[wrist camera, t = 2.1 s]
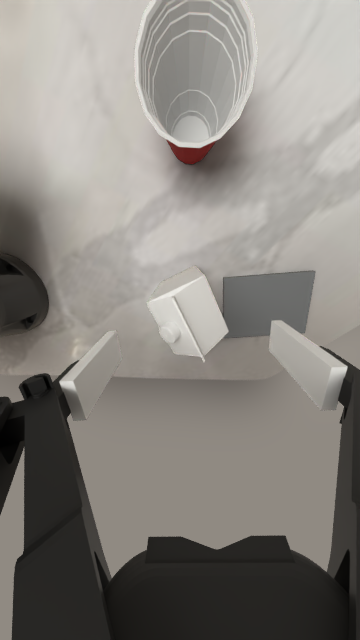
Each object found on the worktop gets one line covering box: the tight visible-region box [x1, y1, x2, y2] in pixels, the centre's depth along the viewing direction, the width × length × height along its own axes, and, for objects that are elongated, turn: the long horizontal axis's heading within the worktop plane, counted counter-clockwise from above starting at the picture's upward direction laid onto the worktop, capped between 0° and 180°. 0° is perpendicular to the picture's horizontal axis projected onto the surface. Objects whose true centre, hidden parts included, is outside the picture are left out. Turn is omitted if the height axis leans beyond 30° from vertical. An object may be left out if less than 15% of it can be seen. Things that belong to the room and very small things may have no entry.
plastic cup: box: [134, 0, 258, 164], centre depth 21 cm, size 11×11×12 cm
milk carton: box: [146, 266, 229, 362], centre depth 26 cm, size 7×7×19 cm
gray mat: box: [223, 271, 315, 338], centre depth 35 cm, size 16×12×1 cm
